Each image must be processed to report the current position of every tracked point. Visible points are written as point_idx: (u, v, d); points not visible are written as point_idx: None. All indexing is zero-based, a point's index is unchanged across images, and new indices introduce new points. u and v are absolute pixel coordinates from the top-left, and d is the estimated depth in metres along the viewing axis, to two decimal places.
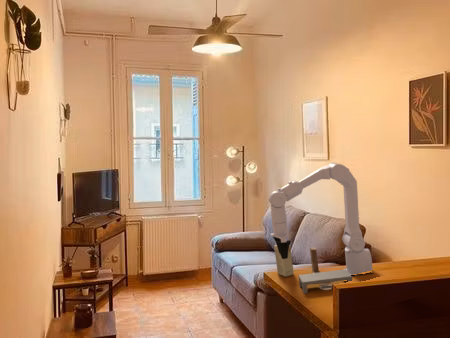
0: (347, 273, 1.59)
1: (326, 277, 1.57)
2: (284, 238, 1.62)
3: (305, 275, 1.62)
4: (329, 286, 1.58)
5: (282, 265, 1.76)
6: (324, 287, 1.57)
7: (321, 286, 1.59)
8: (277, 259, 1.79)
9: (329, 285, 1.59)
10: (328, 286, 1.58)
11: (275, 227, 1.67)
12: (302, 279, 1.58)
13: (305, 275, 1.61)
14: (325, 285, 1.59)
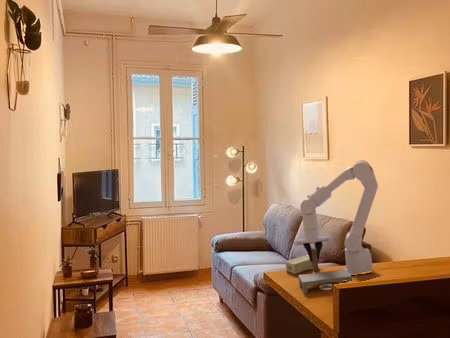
0: (347, 273, 1.59)
1: (326, 277, 1.57)
2: (294, 242, 1.75)
3: (305, 275, 1.62)
4: (329, 286, 1.58)
5: (300, 261, 1.80)
6: (324, 287, 1.57)
7: (321, 286, 1.59)
8: (299, 258, 1.83)
9: (329, 285, 1.59)
10: (328, 286, 1.58)
11: None
12: (302, 279, 1.58)
13: (305, 275, 1.61)
14: (325, 285, 1.59)
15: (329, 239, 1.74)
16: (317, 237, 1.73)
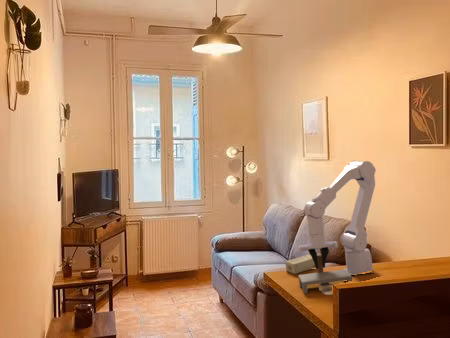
0: (347, 273, 1.59)
1: (326, 277, 1.57)
2: (299, 247, 1.65)
3: (305, 275, 1.62)
4: None
5: (300, 261, 1.80)
6: (327, 292, 1.53)
7: (324, 291, 1.54)
8: (299, 258, 1.83)
9: None
10: (331, 291, 1.53)
11: None
12: (302, 279, 1.58)
13: (305, 275, 1.61)
14: (328, 290, 1.54)
15: (336, 245, 1.64)
16: (323, 243, 1.63)
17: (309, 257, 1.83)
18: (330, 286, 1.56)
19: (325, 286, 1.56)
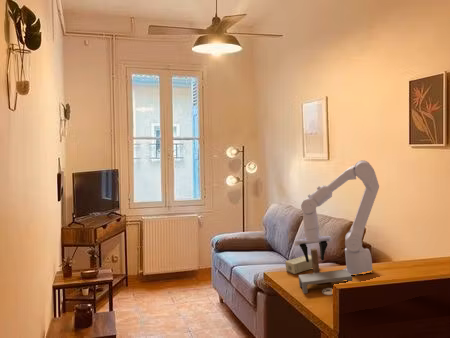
0: (347, 273, 1.59)
1: (326, 277, 1.57)
2: (294, 241, 1.74)
3: (305, 275, 1.62)
4: None
5: (300, 261, 1.80)
6: (327, 292, 1.53)
7: (324, 291, 1.54)
8: (299, 258, 1.83)
9: None
10: (331, 291, 1.53)
11: None
12: (302, 279, 1.58)
13: (305, 275, 1.61)
14: (328, 290, 1.54)
15: (330, 239, 1.73)
16: (317, 237, 1.72)
17: (309, 257, 1.83)
18: None
19: None
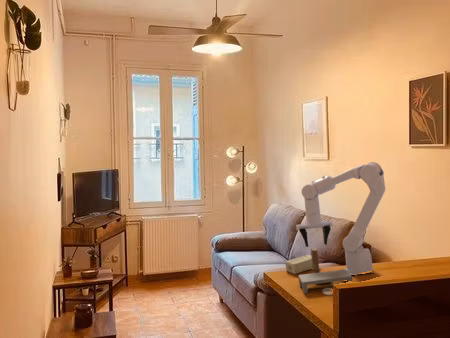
0: (347, 273, 1.59)
1: (326, 277, 1.57)
2: (296, 226, 1.77)
3: (305, 275, 1.62)
4: None
5: (300, 261, 1.80)
6: (327, 292, 1.53)
7: (324, 291, 1.54)
8: (299, 258, 1.83)
9: None
10: (331, 291, 1.53)
11: None
12: (302, 279, 1.58)
13: (305, 275, 1.61)
14: (328, 290, 1.54)
15: (331, 224, 1.76)
16: (319, 222, 1.75)
17: (309, 257, 1.83)
18: None
19: None
